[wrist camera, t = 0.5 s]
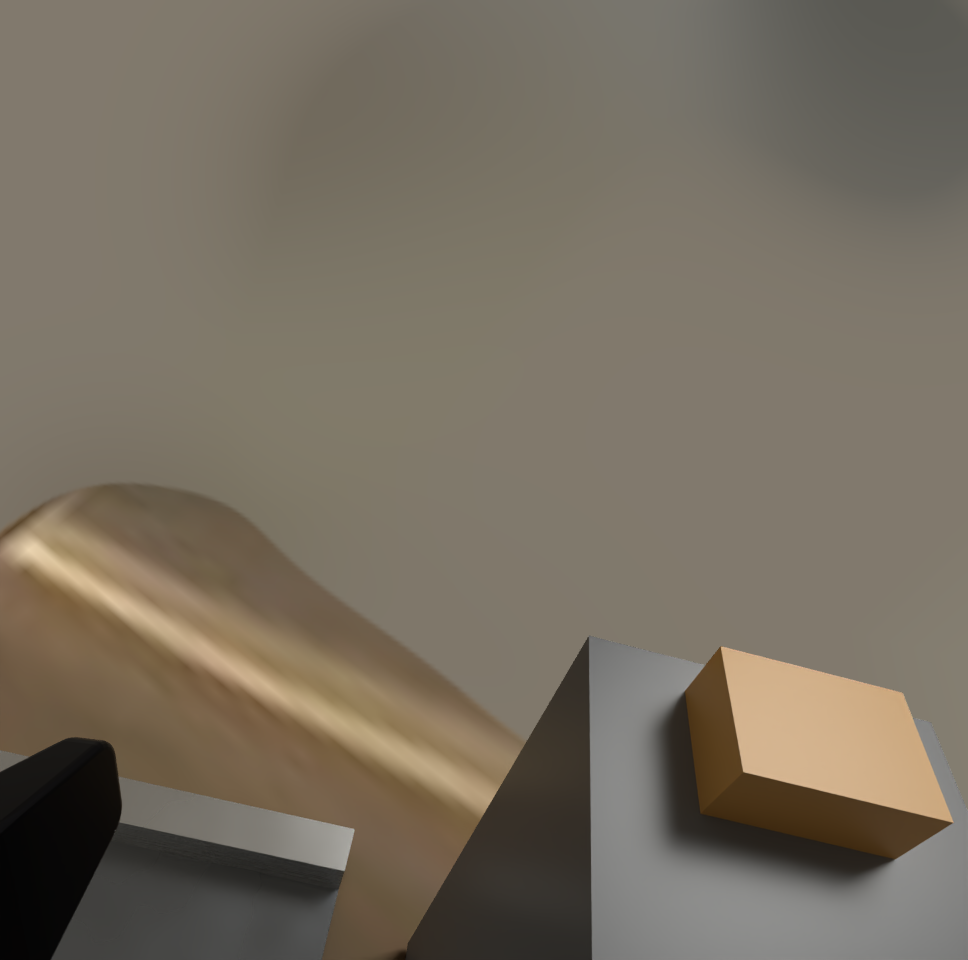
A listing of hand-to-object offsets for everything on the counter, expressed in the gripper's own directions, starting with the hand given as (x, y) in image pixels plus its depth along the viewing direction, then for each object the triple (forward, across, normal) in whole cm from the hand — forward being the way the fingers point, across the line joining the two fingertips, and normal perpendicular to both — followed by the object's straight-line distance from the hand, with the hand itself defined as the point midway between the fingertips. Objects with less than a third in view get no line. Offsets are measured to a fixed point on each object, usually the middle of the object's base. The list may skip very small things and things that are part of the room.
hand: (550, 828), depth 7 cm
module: (+5, 0, +13) cm, 14 cm away
